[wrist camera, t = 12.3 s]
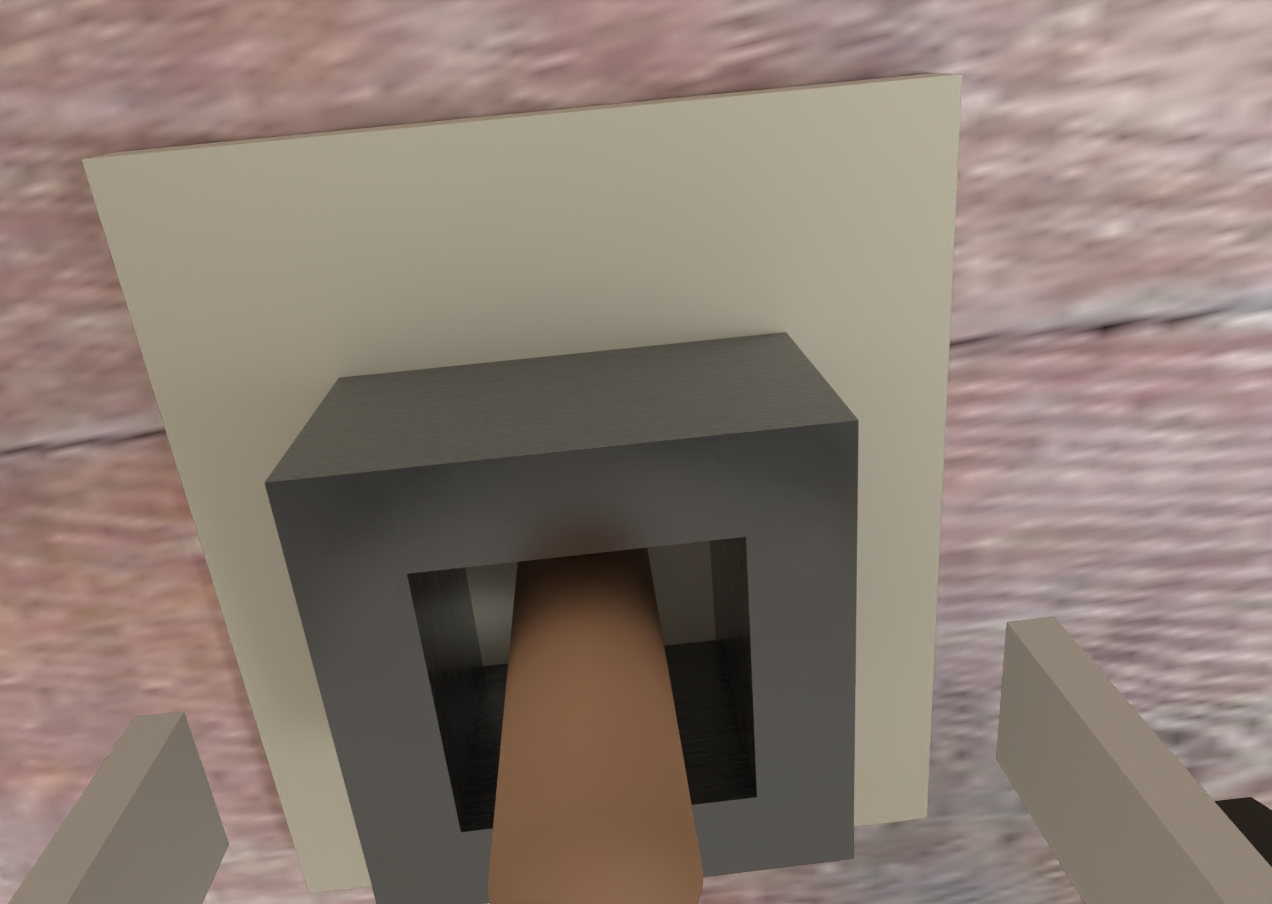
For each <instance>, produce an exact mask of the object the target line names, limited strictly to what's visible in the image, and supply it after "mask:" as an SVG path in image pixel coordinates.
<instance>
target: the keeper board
mask: <svg viewBox="0 0 1272 904" xmlns="http://www.w3.org/2000/svg"><path fill="white" fill-rule="evenodd" d="M961 91H962V74H943V73H929V74H919V75H908V76H898V77H888V78H877V79H867V80H857V81H846V82H836V83H826V84H815V85H805V86H795V87H784V88H774V89H764V90H753V91H743V92H732V93H722V94H712V95H701V96H691V97H681V98H670V99H660V100H650V101H639V102H629V103H619V104H608V105H598V106H588V107H577V108H567V109H557V110H546V111H536V112H526V113H515V114H505V115H495V116H484V117H474V118H464V119H453V120H443V121H433V122H422V123H412V124H402V125H391V126H381V127H371V128H360V129H350V130H340V131H329V132H319V133H308V134H298V135H288V136H277V137H267V138H257V139H246V140H236V141H226V142H215V143H205V144H195V145H184V146H174V147H164V148H153V149H143V150H133V151H122V152H116V153H111V154H106V155H101V156H96V157H91V158H86V159H82V162H83V165H84V169H85V172H86V175H87V178H88V181H89V185H90V188H91V191H92V194H93V198H94V201H95V204H96V207H97V211H98V214H99V217H100V220H101V223H102V227H103V230H104V233H105V236H106V240H107V243H108V246H109V249H110V252H111V256H112V259H113V262H114V265H115V269H116V272H117V275H118V278H119V282H120V285H121V288H122V291H123V294H124V298H125V301H126V304H127V307H128V311H129V314H130V317H131V320H132V324H133V327H134V330H135V333H136V336H137V340H138V343H139V346H140V349H141V353H142V356H143V359H144V362H145V365H146V369H147V372H148V375H149V378H150V382H151V385H152V388H153V391H154V395H155V398H156V401H157V404H158V407H159V411H160V414H161V417H162V420H163V424H164V427H165V430H166V433H167V437H168V440H169V443H170V446H171V449H172V453H173V456H174V459H175V462H176V466H177V469H178V472H179V475H180V479H181V482H182V485H183V488H184V491H185V495H186V498H187V501H188V504H189V508H190V511H191V514H192V517H193V520H194V524H195V527H196V530H197V533H198V537H199V540H200V543H201V546H202V550H203V553H204V556H205V559H206V562H207V566H208V569H209V572H210V575H211V579H212V582H213V585H214V588H215V592H216V595H217V598H218V601H219V604H220V608H221V611H222V614H223V617H224V621H225V624H226V627H227V630H228V634H229V637H230V640H231V643H232V646H233V650H234V653H235V656H236V659H237V663H238V666H239V669H240V672H241V675H242V679H243V682H244V685H245V688H246V692H247V695H248V698H249V701H250V705H251V708H252V711H253V714H254V717H255V721H256V724H257V727H258V730H259V734H260V737H261V740H262V743H263V747H264V750H265V753H266V756H267V759H268V763H269V766H270V769H271V772H272V776H273V779H274V782H275V785H276V788H277V792H278V795H279V798H280V801H281V805H282V808H283V811H284V814H285V818H286V821H287V824H288V827H289V830H290V834H291V837H292V840H293V843H294V847H295V850H296V853H297V856H298V860H299V863H300V866H301V869H302V872H303V876H304V879H305V882H306V885H307V889H308V892H309V894H312V893H320V892H328V891H336V890H344V889H353V888H361V887H369V886H372V885H371V881H370V877H369V873H368V870H367V866H366V862H365V858H364V855H363V851H362V847H361V843H360V840H359V836H358V832H357V828H356V825H355V821H354V817H353V813H352V810H351V806H350V802H349V798H348V795H347V791H346V787H345V783H344V780H343V776H342V772H341V768H340V765H339V761H338V757H337V753H336V750H335V746H334V742H333V738H332V735H331V731H330V727H329V723H328V720H327V716H326V712H325V708H324V705H323V701H322V697H321V693H320V690H319V686H318V682H317V678H316V675H315V671H314V667H313V663H312V660H311V656H310V652H309V648H308V645H307V641H306V637H305V633H304V630H303V626H302V622H301V618H300V615H299V611H298V607H297V603H296V600H295V596H294V592H293V588H292V585H291V581H290V577H289V573H288V570H287V566H286V562H285V558H284V555H283V551H282V547H281V543H280V540H279V536H278V532H277V528H276V525H275V521H274V517H273V513H272V510H271V506H270V502H269V498H268V495H267V491H266V487H265V483H264V482H265V481H266V480H267V478H268V477H269V475H270V474H271V473H272V471H273V470H274V468H275V467H276V466H277V464H278V463H279V461H280V460H281V458H282V457H283V456H284V454H285V453H286V451H287V450H288V449H289V447H290V446H291V444H292V443H293V442H294V440H295V439H296V437H297V436H298V435H299V433H300V432H301V430H302V429H303V427H304V426H305V425H306V423H307V422H308V420H309V419H310V418H311V416H312V415H313V413H314V412H315V411H316V409H317V408H318V406H319V405H320V404H321V402H322V401H323V399H324V398H325V396H326V395H327V394H328V392H329V391H330V389H331V388H332V387H333V385H334V384H335V382H336V381H337V380H338V378H340V377H350V376H359V375H369V374H379V373H389V372H399V371H409V370H418V369H428V368H438V367H448V366H458V365H468V364H477V363H487V362H497V361H507V360H517V359H527V358H536V357H546V356H556V355H566V354H576V353H586V352H595V351H605V350H615V349H625V348H635V347H645V346H655V345H664V344H674V343H684V342H694V341H704V340H714V339H723V338H733V337H743V336H753V335H763V334H773V333H782V332H787V334H788V335H789V336H790V337H791V338H792V340H793V341H794V342H795V343H796V345H797V346H798V347H799V348H800V349H801V351H802V352H803V353H804V354H805V356H806V357H807V358H808V359H809V360H810V362H811V363H812V364H813V365H814V366H815V368H816V369H817V370H818V371H819V373H820V374H821V375H822V376H823V377H824V379H825V380H826V381H827V382H828V384H829V385H830V386H831V387H832V388H833V390H834V391H835V392H836V393H837V394H838V396H839V397H840V398H841V399H842V401H843V402H844V403H845V404H846V405H847V407H848V408H849V409H850V410H851V412H852V413H853V414H854V415H855V416H856V418H857V419H858V420H859V432H858V516H857V601H856V686H855V771H854V827H857V826H866V825H874V824H882V823H890V822H898V821H906V820H914V819H923V818H927V804H928V783H929V763H930V742H931V721H932V700H933V679H934V658H935V637H936V616H937V595H938V574H939V553H940V532H941V511H942V490H943V469H944V448H945V427H946V406H947V385H948V364H949V343H950V322H951V301H952V280H953V259H954V238H955V217H956V196H957V175H958V154H959V133H960V112H961ZM465 569H466V574H467V580H468V585H469V591H470V596H471V602H472V608H473V613H474V619H475V624H476V630H477V635H478V641H479V647H480V652H481V658H482V663H483V666H489V665H498V664H506V663H508V671H507V682H506V693H505V703H504V714H503V725H502V736H501V747H500V758H499V769H498V780H497V790H496V801H495V812H494V823H493V834H492V845H491V856H490V867H489V877H488V894H489V900H490V904H697V903H698V900H699V897H700V894H701V890H702V885H703V869H702V863H701V857H700V852H699V846H698V840H697V834H696V828H695V822H694V817H693V811H692V805H691V799H690V793H689V788H688V782H687V776H686V770H685V764H684V758H683V753H682V747H681V741H680V735H679V729H678V724H677V718H676V712H675V706H674V700H673V694H672V689H671V683H670V677H669V671H668V665H667V660H666V654H665V648H664V646H666V645H675V644H684V643H693V642H702V641H711V640H716V637H715V620H714V603H713V586H712V569H711V553H710V541H703V542H693V543H684V544H675V545H666V546H657V547H648V548H638V549H629V550H620V551H611V552H602V553H592V554H583V555H574V556H565V557H556V558H547V559H537V560H528V561H519V562H510V563H501V564H491V565H482V566H473V567H465Z"/></svg>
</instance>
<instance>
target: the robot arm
mask: <svg viewBox="0 0 1272 904" xmlns="http://www.w3.org/2000/svg"><path fill="white" fill-rule="evenodd" d="M996 759H997V760H998V762H999V764H1000V765H1001V767H1002V769H1003V770H1004V772H1005V774H1006V775H1007V777H1008V778H1009V780H1010V782H1011V783H1012V785H1013V787H1014V788H1015V790H1016V792H1017V793H1018V795H1019V797H1020V798H1021V800H1022V801H1023V803H1024V805H1025V806H1026V808H1027V810H1028V811H1029V813H1030V815H1031V816H1032V818H1033V820H1034V821H1035V823H1036V825H1037V826H1038V828H1039V829H1040V831H1041V833H1042V834H1043V836H1044V838H1045V839H1046V841H1047V843H1048V844H1049V846H1050V848H1051V849H1052V851H1053V852H1054V854H1055V856H1056V857H1057V859H1058V861H1059V862H1060V864H1061V866H1062V867H1063V869H1064V871H1065V872H1066V874H1067V876H1068V877H1069V879H1070V880H1071V882H1072V884H1073V885H1074V887H1075V889H1076V890H1077V892H1078V894H1079V895H1080V897H1081V899H1082V900H1083V902H1084V903H1085V904H1272V810H1271V809H1269V808H1267V807H1266V806H1264V805H1263V804H1261V803H1260V802H1258V801H1256V800H1255V799H1253V798H1252V797H1247V798H1238V799H1230V800H1221V801H1214V800H1213V799H1212V798H1211V797H1210V796H1209V795H1208V794H1207V792H1206V791H1205V790H1204V789H1203V788H1202V787H1201V785H1200V784H1199V783H1198V782H1197V781H1196V780H1195V779H1194V777H1193V776H1192V775H1191V774H1190V773H1189V772H1188V770H1187V769H1186V768H1185V767H1184V766H1183V765H1182V764H1181V762H1180V761H1179V760H1178V759H1177V758H1176V757H1175V756H1174V754H1173V753H1172V752H1171V751H1170V750H1169V749H1168V747H1167V746H1166V745H1165V744H1164V743H1163V742H1162V741H1161V739H1160V738H1159V737H1158V736H1157V735H1156V734H1155V733H1154V731H1153V730H1152V729H1151V728H1150V727H1149V726H1148V724H1147V723H1146V722H1145V721H1144V720H1143V719H1142V718H1141V716H1140V715H1139V714H1138V713H1137V712H1136V711H1135V710H1134V708H1133V707H1132V706H1131V705H1130V704H1129V703H1128V701H1127V700H1126V699H1125V698H1124V697H1123V696H1122V695H1121V693H1120V692H1119V691H1118V690H1117V689H1116V688H1115V687H1114V685H1113V684H1112V683H1111V682H1110V681H1109V680H1108V678H1107V677H1106V676H1105V675H1104V674H1103V673H1102V672H1101V670H1100V669H1099V668H1098V667H1097V666H1096V665H1095V664H1094V662H1093V661H1092V660H1091V659H1090V658H1089V657H1088V655H1087V654H1086V653H1085V652H1084V651H1083V650H1082V649H1081V647H1080V646H1079V645H1078V644H1077V643H1076V642H1075V640H1074V639H1073V638H1072V637H1071V636H1070V635H1069V634H1068V632H1067V631H1066V630H1065V629H1064V628H1063V627H1062V626H1061V624H1060V623H1059V622H1058V621H1057V620H1056V619H1055V617H1048V618H1039V619H1030V620H1021V621H1012V622H1007V627H1006V640H1005V652H1004V665H1003V678H1002V690H1001V703H1000V715H999V728H998V741H997V753H996ZM228 845H229V843H228V840H227V837H226V834H225V831H224V828H223V825H222V822H221V819H220V816H219V813H218V810H217V807H216V804H215V801H214V799H213V796H212V793H211V790H210V787H209V784H208V781H207V778H206V775H205V772H204V769H203V766H202V763H201V760H200V757H199V754H198V752H197V749H196V746H195V743H194V740H193V737H192V734H191V731H190V728H189V725H188V722H187V719H186V716H185V713H184V712H176V713H167V714H158V715H149V716H140V717H135V718H134V719H133V721H132V722H131V724H130V725H129V726H128V728H127V729H126V731H125V732H124V734H123V735H122V737H121V738H120V740H119V741H118V743H117V744H116V746H115V747H114V749H113V750H112V751H111V753H110V754H109V756H108V757H107V759H106V760H105V762H104V763H103V765H102V766H101V768H100V769H99V771H98V772H97V774H96V775H95V777H94V778H93V779H92V781H91V782H90V784H89V785H88V787H87V788H86V790H85V791H84V793H83V794H82V796H81V797H80V799H79V800H78V802H77V803H76V804H75V806H74V807H73V809H72V810H71V812H70V813H69V815H68V816H67V818H66V819H65V821H64V822H63V824H62V825H61V827H60V828H59V829H58V831H57V832H56V834H55V835H54V837H53V838H52V840H51V841H50V843H49V844H48V846H47V847H46V849H45V850H44V852H43V853H42V854H41V856H40V857H39V859H38V860H37V862H36V863H35V865H34V866H33V868H32V869H31V871H30V872H29V874H28V875H27V877H26V878H25V880H24V881H23V882H22V884H21V885H20V887H19V888H18V890H17V891H16V893H15V894H14V896H13V897H12V899H11V900H10V902H9V903H8V904H202V903H203V901H204V899H205V897H206V894H207V892H208V890H209V888H210V885H211V883H212V881H213V879H214V876H215V874H216V872H217V870H218V867H219V865H220V863H221V861H222V859H223V856H224V854H225V852H226V850H227V847H228Z"/></svg>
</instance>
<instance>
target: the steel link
mask: <svg viewBox="0 0 1272 904" xmlns="http://www.w3.org/2000/svg"><path fill="white" fill-rule="evenodd" d="M858 432H859V420H858V419H857V418H856V416H855V415H854V414H853V413H852V412H851V410H850V409H849V408H848V407H847V405H846V404H845V403H844V402H843V401H842V399H841V398H840V397H839V396H838V394H837V393H836V392H835V391H834V390H833V388H832V387H831V386H830V385H829V384H828V382H827V381H826V380H825V379H824V377H823V376H822V375H821V374H820V373H819V371H818V370H817V369H816V368H815V366H814V365H813V364H812V363H811V362H810V360H809V359H808V358H807V357H806V356H805V354H804V353H803V352H802V351H801V349H800V348H799V347H798V346H797V345H796V343H795V342H794V341H793V340H792V338H791V337H790V336H789V335H788V334H787V332H782V333H773V334H763V335H753V336H743V337H733V338H723V339H714V340H704V341H694V342H684V343H674V344H664V345H655V346H645V347H635V348H625V349H615V350H605V351H595V352H586V353H576V354H566V355H556V356H546V357H536V358H527V359H517V360H507V361H497V362H487V363H477V364H468V365H458V366H448V367H438V368H428V369H418V370H409V371H399V372H389V373H379V374H369V375H359V376H350V377H340V378H338V380H337V381H336V382H335V384H334V385H333V387H332V388H331V389H330V391H329V392H328V394H327V395H326V396H325V398H324V399H323V401H322V402H321V404H320V405H319V406H318V408H317V409H316V411H315V412H314V413H313V415H312V416H311V418H310V419H309V420H308V422H307V423H306V425H305V426H304V427H303V429H302V430H301V432H300V433H299V435H298V436H297V437H296V439H295V440H294V442H293V443H292V444H291V446H290V447H289V449H288V450H287V451H286V453H285V454H284V456H283V457H282V458H281V460H280V461H279V463H278V464H277V466H276V467H275V468H274V470H273V471H272V473H271V474H270V475H269V477H268V478H267V480H266V481H265V482H264V483H265V487H266V491H267V495H268V498H269V502H270V506H271V510H272V513H273V517H274V521H275V525H276V528H277V532H278V536H279V540H280V543H281V547H282V551H283V555H284V558H285V562H286V566H287V570H288V573H289V577H290V581H291V585H292V588H293V592H294V596H295V600H296V603H297V607H298V611H299V615H300V618H301V622H302V626H303V630H304V633H305V637H306V641H307V645H308V648H309V652H310V656H311V660H312V663H313V667H314V671H315V675H316V678H317V682H318V686H319V690H320V693H321V697H322V701H323V705H324V708H325V712H326V716H327V720H328V723H329V727H330V731H331V735H332V738H333V742H334V746H335V750H336V753H337V757H338V761H339V765H340V768H341V772H342V776H343V780H344V783H345V787H346V791H347V795H348V798H349V802H350V806H351V810H352V813H353V817H354V821H355V825H356V828H357V832H358V836H359V840H360V843H361V847H362V851H363V855H364V858H365V862H366V866H367V870H368V873H369V877H370V881H371V885H372V888H373V892H374V896H375V900H376V903H377V904H485V903H490V900H489V894H488V877H489V867H490V856H491V845H492V834H493V823H494V812H495V801H496V790H497V780H498V769H499V758H500V747H501V736H502V725H503V714H504V703H505V693H506V682H507V671H508V663H506V664H498V665H489V666H483V663H482V658H481V652H480V647H479V641H478V635H477V630H476V624H475V619H474V613H473V608H472V602H471V596H470V591H469V585H468V580H467V574H466V569H465V567H473V566H482V565H491V564H501V563H510V562H519V561H528V560H537V559H547V558H556V557H565V556H574V555H583V554H592V553H602V552H611V551H620V550H629V549H638V548H648V547H657V546H666V545H675V544H684V543H693V542H703V541H710V553H711V569H712V586H713V603H714V620H715V637H716V640H711V641H702V642H693V643H684V644H675V645H666V646H664V648H665V654H666V660H667V665H668V671H669V677H670V683H671V689H672V694H673V700H674V706H675V712H676V718H677V724H678V729H679V735H680V741H681V747H682V753H683V758H684V764H685V770H686V776H687V782H688V788H689V793H690V799H691V805H692V811H693V817H694V822H695V828H696V834H697V840H698V846H699V852H700V857H701V863H702V869H703V877H708V876H716V875H724V874H733V873H741V872H749V871H757V870H766V869H774V868H782V867H790V866H799V865H807V864H815V863H823V862H832V861H840V860H848V859H853V855H854V771H855V686H856V601H857V516H858Z"/></svg>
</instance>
